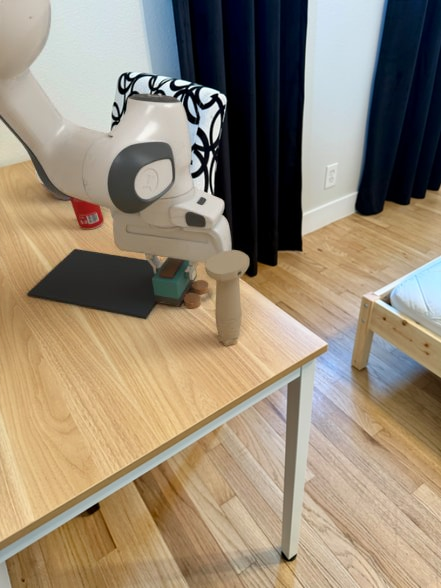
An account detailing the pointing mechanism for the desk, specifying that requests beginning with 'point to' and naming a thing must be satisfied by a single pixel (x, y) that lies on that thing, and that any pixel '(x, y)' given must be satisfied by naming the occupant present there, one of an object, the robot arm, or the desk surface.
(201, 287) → the grit
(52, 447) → the desk surface
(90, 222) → the beverage can
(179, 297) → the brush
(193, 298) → the brown short cylinder
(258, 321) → the desk surface
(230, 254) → the handle
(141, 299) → the mat
